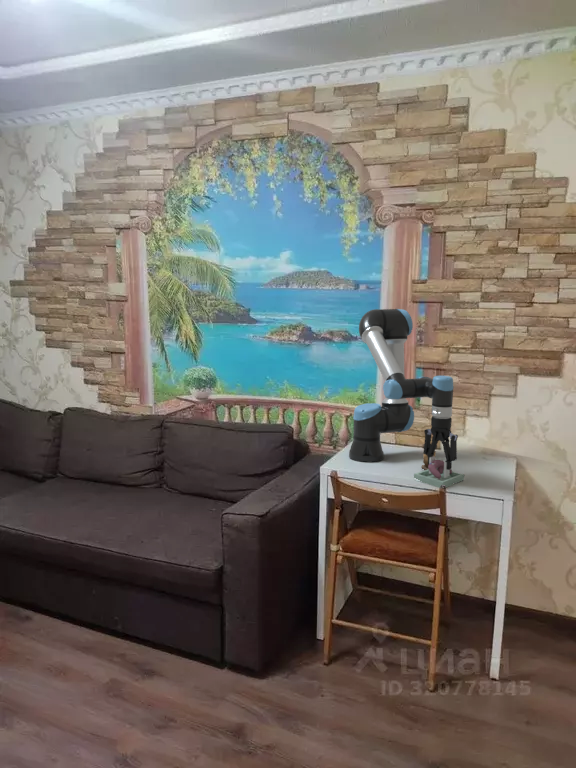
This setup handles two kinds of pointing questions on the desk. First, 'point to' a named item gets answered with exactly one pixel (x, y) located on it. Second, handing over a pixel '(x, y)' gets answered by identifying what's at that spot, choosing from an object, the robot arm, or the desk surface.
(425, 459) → the bobbin
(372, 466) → the desk surface
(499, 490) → the desk surface
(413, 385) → the robot arm
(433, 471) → the video game controller
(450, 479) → the green square tray
